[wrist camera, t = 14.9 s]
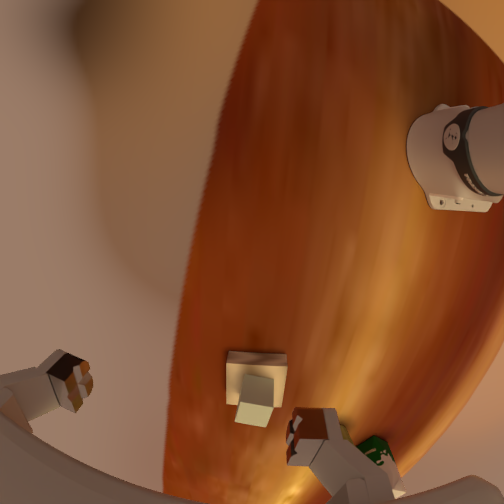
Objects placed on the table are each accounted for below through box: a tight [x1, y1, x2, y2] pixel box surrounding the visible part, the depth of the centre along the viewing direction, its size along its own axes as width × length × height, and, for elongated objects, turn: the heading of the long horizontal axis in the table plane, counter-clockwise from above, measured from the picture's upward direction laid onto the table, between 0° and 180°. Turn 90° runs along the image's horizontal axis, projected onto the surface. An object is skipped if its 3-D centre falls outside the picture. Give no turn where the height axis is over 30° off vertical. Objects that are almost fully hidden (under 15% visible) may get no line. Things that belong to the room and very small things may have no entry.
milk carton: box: [356, 436, 406, 499], centre depth 43 cm, size 9×9×20 cm
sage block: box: [235, 374, 274, 427], centre depth 41 cm, size 5×5×7 cm
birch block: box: [226, 351, 288, 407], centre depth 46 cm, size 10×10×4 cm
